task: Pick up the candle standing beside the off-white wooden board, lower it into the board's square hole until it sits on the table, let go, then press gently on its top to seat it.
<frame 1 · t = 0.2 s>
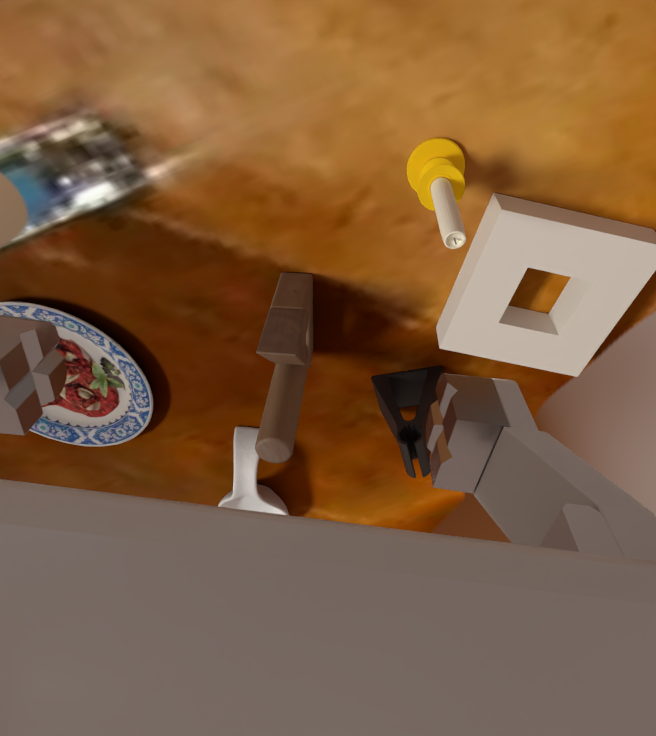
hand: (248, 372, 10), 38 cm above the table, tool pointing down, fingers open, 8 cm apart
ceramic plate: (65, 372, 66), on the table
candle: (435, 166, 44), on the table
phone stand: (409, 386, 62), on the table
wooden block: (298, 311, 56), on the table
spoon rest: (255, 473, 77), on the table
hole board: (534, 282, 51), on the table
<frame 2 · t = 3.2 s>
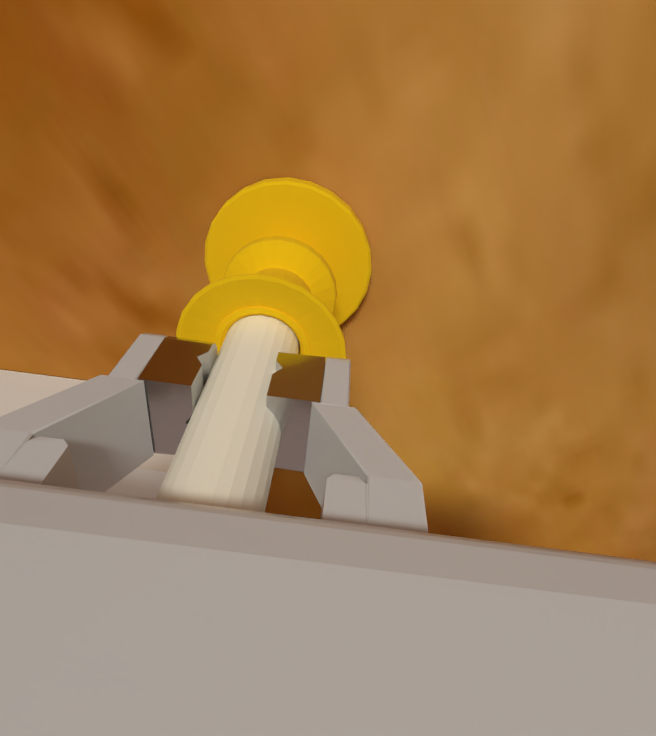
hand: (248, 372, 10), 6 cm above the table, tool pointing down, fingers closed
candle: (290, 259, 15), on the table, touching gripper
hole board: (87, 508, 23), on the table
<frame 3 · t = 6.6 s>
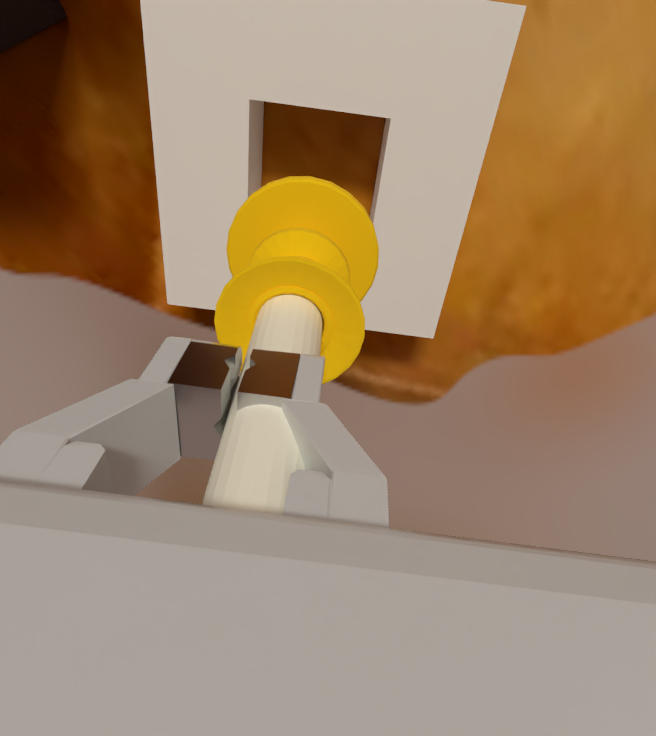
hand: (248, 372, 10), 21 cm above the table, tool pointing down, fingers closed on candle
candle: (304, 251, 17), point 13 cm above the table, touching gripper
hole board: (319, 165, 27), on the table
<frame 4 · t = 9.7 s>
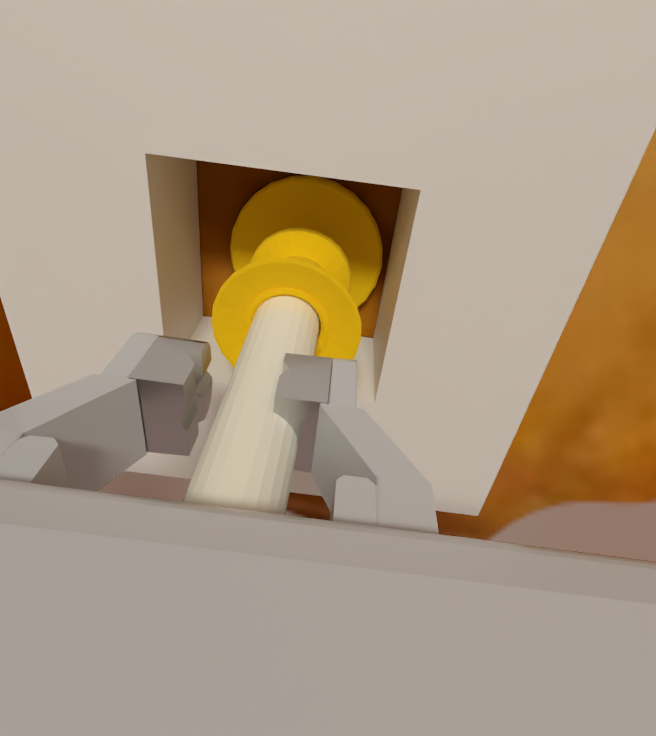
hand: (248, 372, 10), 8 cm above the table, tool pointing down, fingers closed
candle: (307, 250, 17), resting in hole board
hole board: (294, 244, 16), on the table
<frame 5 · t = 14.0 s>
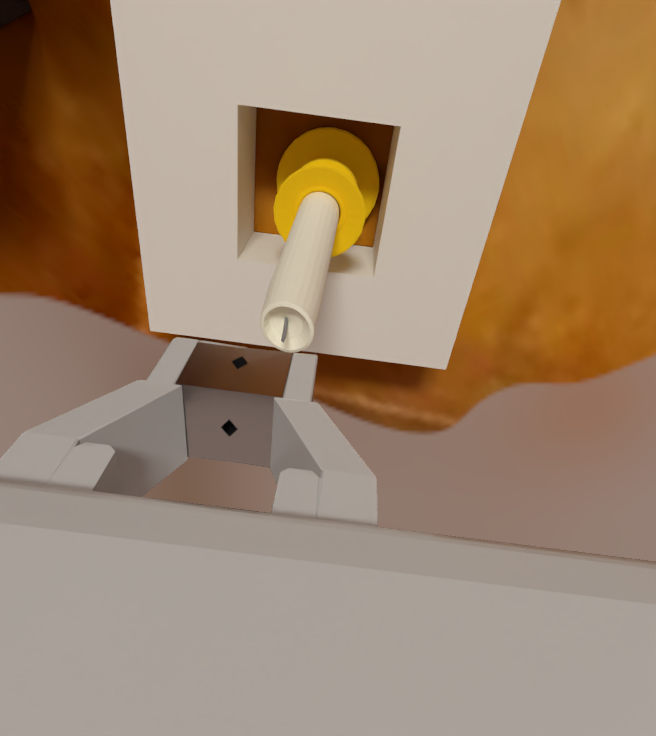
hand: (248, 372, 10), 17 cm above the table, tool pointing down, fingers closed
candle: (328, 182, 25), resting in hole board
hole board: (319, 177, 24), on the table
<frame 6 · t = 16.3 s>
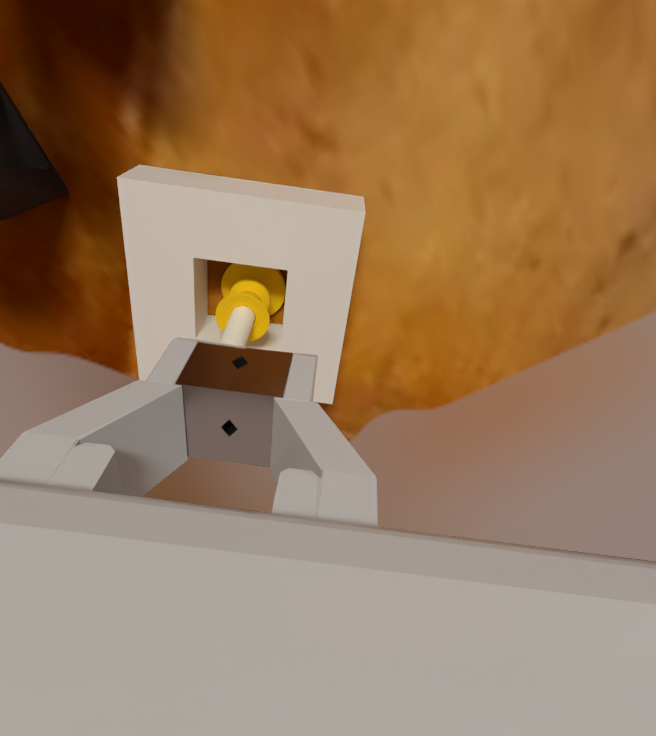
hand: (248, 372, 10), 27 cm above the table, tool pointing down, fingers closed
candle: (254, 286, 39), resting in hole board
hole board: (248, 284, 38), on the table
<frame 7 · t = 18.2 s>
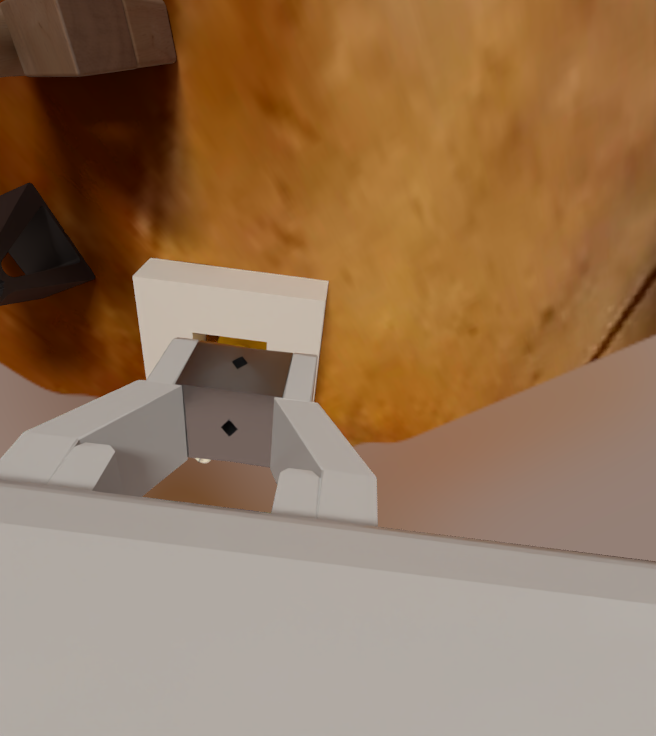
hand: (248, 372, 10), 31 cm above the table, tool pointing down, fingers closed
candle: (244, 346, 47), resting in hole board
phone stand: (40, 242, 43), on the table
wooden block: (99, 37, 33), on the table
hole board: (239, 344, 47), on the table
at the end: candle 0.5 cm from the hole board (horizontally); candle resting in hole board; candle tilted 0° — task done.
